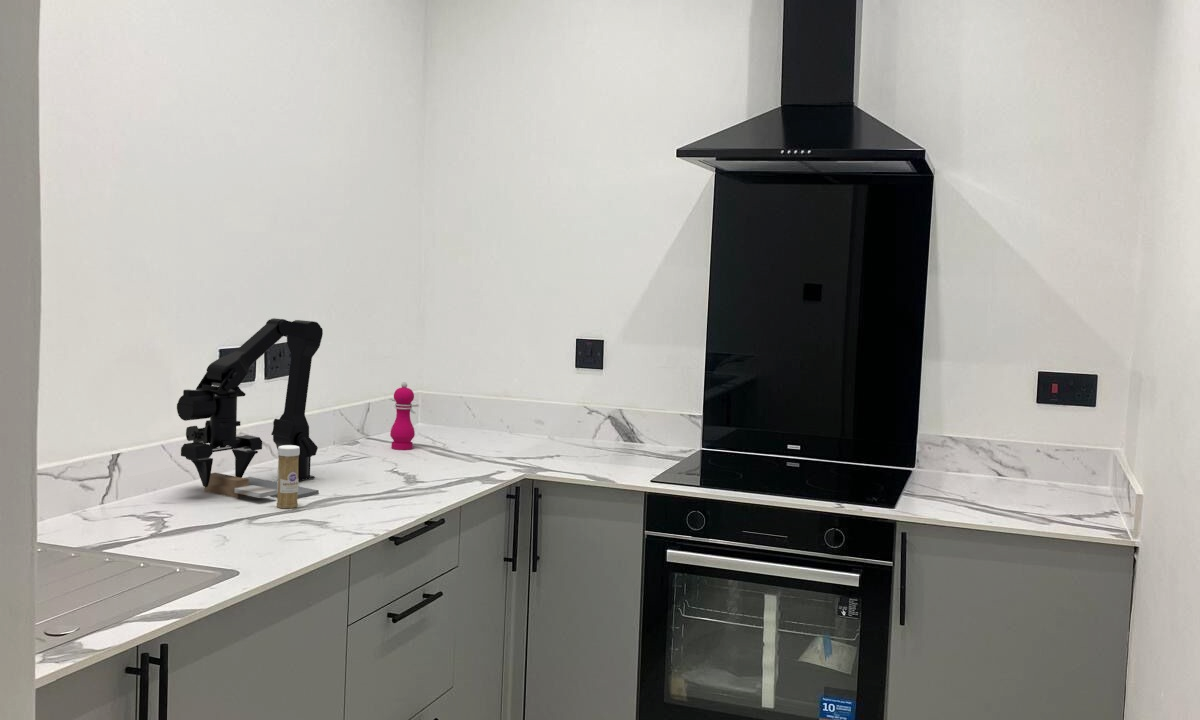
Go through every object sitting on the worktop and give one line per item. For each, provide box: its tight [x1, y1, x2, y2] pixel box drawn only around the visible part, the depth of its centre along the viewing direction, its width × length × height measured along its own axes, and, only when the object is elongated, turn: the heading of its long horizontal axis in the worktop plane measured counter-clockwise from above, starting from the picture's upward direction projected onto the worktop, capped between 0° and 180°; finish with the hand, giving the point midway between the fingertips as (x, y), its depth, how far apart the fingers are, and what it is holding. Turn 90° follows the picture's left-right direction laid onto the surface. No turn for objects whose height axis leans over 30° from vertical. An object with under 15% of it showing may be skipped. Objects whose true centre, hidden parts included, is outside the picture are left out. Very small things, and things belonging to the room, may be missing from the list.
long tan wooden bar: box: [204, 472, 277, 499], centre depth 226 cm, size 19×5×4 cm, turn 62°
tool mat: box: [244, 476, 320, 499], centre depth 233 cm, size 9×23×1 cm, turn 61°
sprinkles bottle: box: [276, 445, 300, 509], centre depth 218 cm, size 5×5×13 cm
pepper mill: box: [389, 382, 416, 451], centre depth 297 cm, size 7×7×20 cm
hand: (222, 483), depth 228 cm, fingers open, 9 cm apart
